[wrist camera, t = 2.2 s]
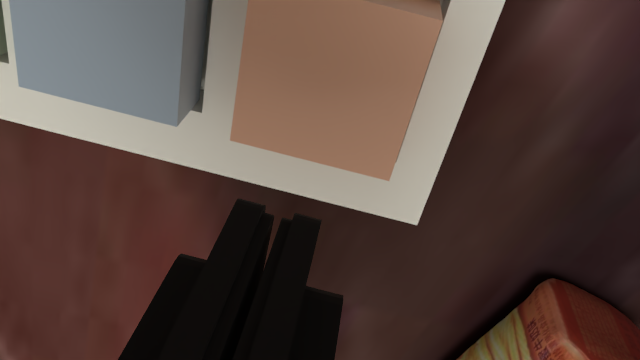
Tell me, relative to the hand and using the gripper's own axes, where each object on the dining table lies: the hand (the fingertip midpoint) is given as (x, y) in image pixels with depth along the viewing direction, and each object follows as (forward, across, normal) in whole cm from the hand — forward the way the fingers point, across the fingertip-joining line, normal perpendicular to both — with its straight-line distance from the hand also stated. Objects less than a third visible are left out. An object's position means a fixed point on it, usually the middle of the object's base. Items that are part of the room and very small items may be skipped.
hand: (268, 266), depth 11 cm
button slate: (+11, +8, 0) cm, 14 cm away
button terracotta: (+11, 0, 0) cm, 11 cm away
